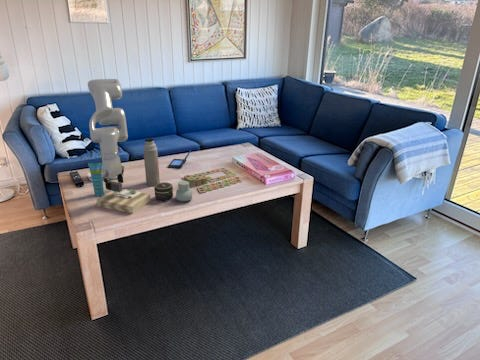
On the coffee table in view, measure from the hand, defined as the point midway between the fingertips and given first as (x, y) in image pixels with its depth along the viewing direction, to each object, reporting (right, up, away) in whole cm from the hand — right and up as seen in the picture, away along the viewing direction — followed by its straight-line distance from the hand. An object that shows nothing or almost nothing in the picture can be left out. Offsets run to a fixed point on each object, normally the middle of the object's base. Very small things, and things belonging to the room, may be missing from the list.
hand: (114, 185), depth 196 cm
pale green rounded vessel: (+36, -8, +9) cm, 38 cm away
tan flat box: (+4, -10, +3) cm, 11 cm away
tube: (-13, -5, +13) cm, 19 cm away
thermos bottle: (+14, +1, +28) cm, 31 cm away
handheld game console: (+25, +13, +59) cm, 65 cm away
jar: (+24, -7, +10) cm, 27 cm away
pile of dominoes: (+49, +2, +34) cm, 60 cm away
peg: (+3, -5, +2) cm, 6 cm away
